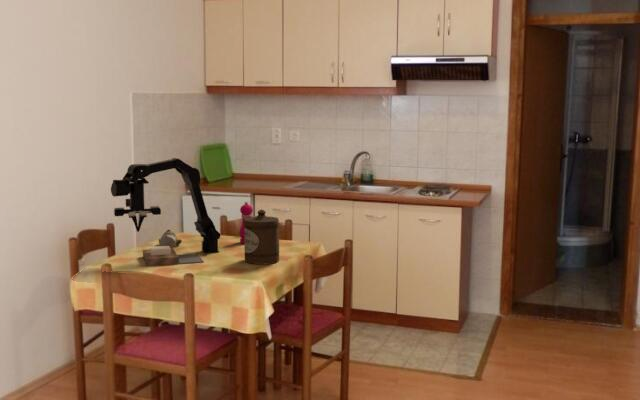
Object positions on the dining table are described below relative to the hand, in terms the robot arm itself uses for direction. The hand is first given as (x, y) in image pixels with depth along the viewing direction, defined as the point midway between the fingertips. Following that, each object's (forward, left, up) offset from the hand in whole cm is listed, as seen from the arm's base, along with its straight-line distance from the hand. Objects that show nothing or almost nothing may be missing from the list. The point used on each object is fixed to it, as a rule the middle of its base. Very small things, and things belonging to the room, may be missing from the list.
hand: (138, 231), depth 309 cm
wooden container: (-51, +12, -13) cm, 54 cm away
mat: (-21, +1, -13) cm, 25 cm away
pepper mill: (-53, -27, -13) cm, 60 cm away
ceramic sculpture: (-16, -26, -13) cm, 33 cm away
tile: (-9, 0, -10) cm, 13 cm away
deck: (-9, 0, -13) cm, 16 cm away
